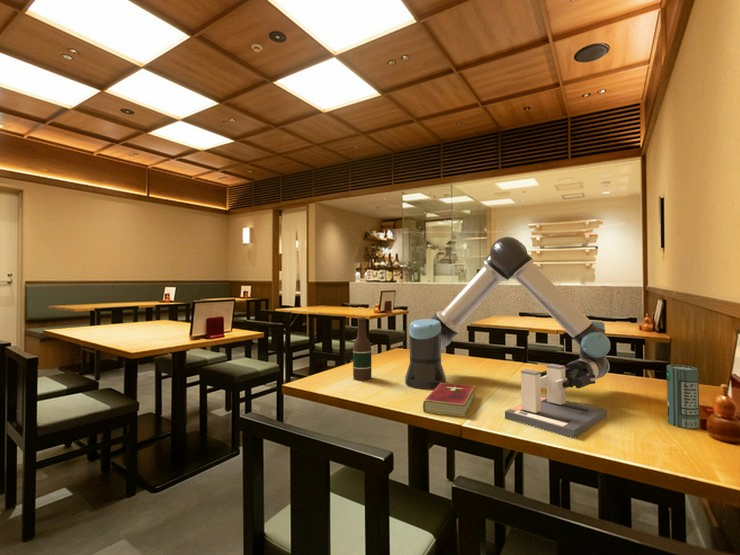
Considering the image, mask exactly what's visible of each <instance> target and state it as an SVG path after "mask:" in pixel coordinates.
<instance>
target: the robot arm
mask: <svg viewBox="0 0 740 555" xmlns="http://www.w3.org/2000/svg"><path fill="white" fill-rule="evenodd" d="M509 280H516V281H517V283H519V285H521V287H522V288H523V289H524V290H525V291H526V292H527V293H528V294H529V295H530V296H531V297H532V298H533V299H534V300H535V301H536V302H537V303H538V305H540V306H541V307H542V308H543V309H544V310H545V311H546V312H547V313H548V314H549V316H550V317H552V318H553V320H554V321H556V323H558V325H559V326H560V327H561V328H562V329H563V330H565V332H566V333H567V334H568V335H569V336H570V337H571V338H572V339H573V340H574V342H575V343H577V345H578V346H579V358H578V359H575V360H573V361H570V362H568V363H567V364H566V365H564V366H565V378H562V379H559V380H557V381H555V391H557V392H558V391H560V390H562V389H565V388H566V389H568V388H574V387H575V389H578V390H579V389H582V388H585V387H587V386H589V385H594V384H596V380H597V379H600V378H602V377H604V376H605V375H607V374H608V372H609V371H610V362H609V359H607V357H606V355H607V354H608V353H609V352H610V350H611V341H610V339H609V337H608V336H607V335H606V328H605V327H606V325H605V323H604V321H599V320H591V319H589V317H587V316H586V315H585V314H584V313H583V312H582V310H580V309H579V308H578V307H577V306H576V305H575V304H574V303H573V302H572V301H571V300H570V299H569V298H568V296H566V295H565V294H564V293H563V292H562V291H561V290H560V289H559V288H558V287H557V286H556V285H555V284H554V283H553V282H552V281H551V280H550V279H549V278H548V277H547V276H546V275H545V274H544V273H543V272H542V270H540V269H539V268H538V267H537V266H536V265H535V263H534V259H533V258H532V257H531V256H530V255H529V253H528V250H527V247H526V246H525V245H524V244H523V243H522V242H521V241H520V240H519V239H517V238H514V237H511V236H504V237H500V238H498V239H496V240H495V241H494V242H493V243H492V245H491V247H490V249H489V254H488V255H487V256H486V257H485V258H484V259H483V267H482V268H481V269H480V270H479V271H477V273H476V274H475V276H473V278H471V280H470V281H469V282H468V283H467V284H466V285H465V286H464V287H463V288H462V289H461V291H460V292H459V293H458V294H457V295H456V296H455V297H454V298H453V300H452V301H451V302H450V303H449V304H448V305H447V306H446V307H445V309H444V310H440V311H439V310H438V311H437V312H435V314H434V315H433V316H432V317H431V318H420V319H416V320H413V321H412V322H411V323H410V324H409V330H408V333H409V334H408V335H409V364H408V368H407V371H406V374H405V377H404V378H405V379H404V380H405V381H404V382H405V385H407V386H408V387H411V388H416V389H423V390H424V389H427V390H428V389H433V390H434V389H435V388H436V387H437V386H438V385H439V384H440V383H447V377H446V374H445V370H444V367H443V364H442V349H444V348H446V347H448V346H449V345H450V344H451V343H452V341H453V339H454V338H455V337H456V336H457V335H458V334H459V332H460V331H461V330H460V328H461V327H460V326H461V325H462V323H464V322H465V320H466V319H467V318H468V317H469V316H470V315H471V314H472V313H473V312H474V311H475V310H476V309H477V308H478V306H480V305H481V303H482V302H484V300H485V299H486V298H487V297H488V296H489V295H490V294H491V293H492V292H493V291H494V290H495V288H496V287H498V285H499V284H500V283H501V282H505V281H507V282H508V281H509ZM540 375H541V389H542V388H544V387H547V369H546V370H544V371H540Z"/></svg>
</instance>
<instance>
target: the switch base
mask: <svg viewBox="0 0 740 555" xmlns="http://www.w3.org/2000/svg"><path fill="white" fill-rule="evenodd" d="M540 373H541V371H539V370H534V369H529V368H526V369H523V370H521V371H520V377H521V378H520V385H521V386H520V388H521V389H520V392H521V393H520V394H521V403H520V404H518V405H516V406H514V407H510V408H508V409H507V410H505V411H504V419H505V418H508V419H507V420H509V419H512V420H515V421H519V422H522V423H525V424H524V425H526V424H528V425H527V426H529V425H531V426H530V427H532V426H535V427H534V428H536V427H538V428H537V429H539V428H541V429H540V430H543V429H544V430H543V431H546V430H547V432H549V431H551V432H550V433H553V432H555V433H554V434H556V433H558V434H557V435H560V434H561V436H563V435H564V437H567V438H570V437H571V439H573V438H574V439H576V438H577V437H579V436H580V435H582V434H583V433H585V432H587V431H588V430H590V429H591V428H592V427H594V426H595V425H597V424H598V423H600V422H602V421H603V420H604V419H606V418H607V417H608V415H607V414H608V413H607V412H608V410H607V409H604V408H600V407H597V406H592V405H586V404H583V403H577V402H573V401H569V400H566V403H564V404H562V405H560V404H556V403H552V402H547V395H543V394H542V393H541V392H542V390H541V389H542V388H541V375H540ZM512 420H511V421H512ZM515 421H514V422H515ZM519 422H518V423H519ZM522 423H521V424H522ZM578 435H579V436H578ZM575 437H576V438H575Z"/></svg>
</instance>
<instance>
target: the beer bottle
mask: <svg viewBox="0 0 740 555" xmlns="http://www.w3.org/2000/svg"><path fill="white" fill-rule="evenodd" d="M356 321H357V334H356V338H355V340H354V342H353V345H352V346H353V347H352V375H353V377H352V378H353V380H355V379H356V380H355V381H368V380H371V379H372V347H371V346H372V345H371V342H370V340H369V338H368V337H367V335H368V334H367V323H366V321H367V318H366V317H363V316H362V317H361V316H359V317H357V320H356Z"/></svg>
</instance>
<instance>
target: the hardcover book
mask: <svg viewBox="0 0 740 555" xmlns="http://www.w3.org/2000/svg"><path fill="white" fill-rule="evenodd" d="M475 388H476V385H468V384H459V383H458V384H457V383H448V382H446V383H440V384H439V385H438V386H437V387H436V388H433V390H432V391H431V393H429V395H428V396H426V398H425V399H424V401H422V402H423V404H422V410H423V413H431V414H437V413H438V414H439V413H440V414H439V415H445V414H448V415H447V416H452V415H455V416H454V417H460V416H464V417H465V415H466V414H467V412H466V411H468V410H467V409H469V408H468V407H470V406H471V403H472V402H473V400H474V397H475ZM469 405H470V406H469ZM465 413H466V414H465ZM438 414H437V415H438ZM456 415H457V416H456Z"/></svg>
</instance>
